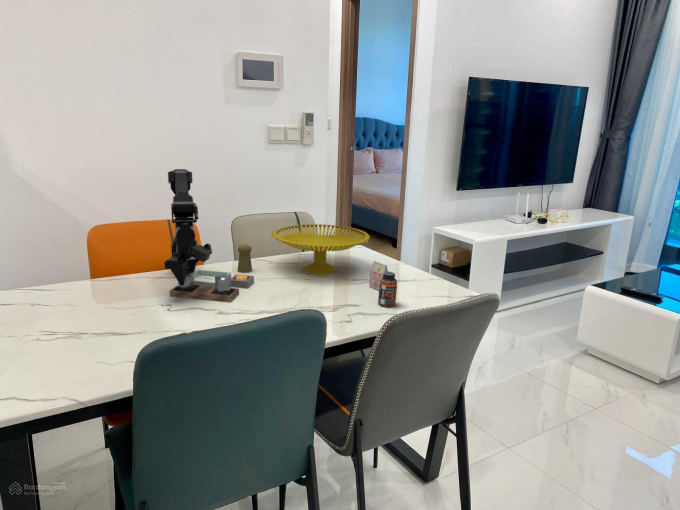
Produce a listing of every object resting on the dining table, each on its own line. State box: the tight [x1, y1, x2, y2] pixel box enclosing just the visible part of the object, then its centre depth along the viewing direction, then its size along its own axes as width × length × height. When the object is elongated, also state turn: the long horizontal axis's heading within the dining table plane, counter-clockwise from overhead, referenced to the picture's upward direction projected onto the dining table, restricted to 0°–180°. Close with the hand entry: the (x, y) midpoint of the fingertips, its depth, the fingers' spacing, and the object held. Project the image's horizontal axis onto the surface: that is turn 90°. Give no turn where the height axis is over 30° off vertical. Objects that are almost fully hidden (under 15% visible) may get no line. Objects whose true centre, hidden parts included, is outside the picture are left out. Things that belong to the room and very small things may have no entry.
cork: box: [236, 244, 253, 274], centre depth 203 cm, size 6×6×11 cm
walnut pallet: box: [169, 284, 240, 303], centre depth 173 cm, size 21×8×3 cm, turn 81°
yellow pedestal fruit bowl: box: [270, 223, 371, 275], centre depth 210 cm, size 40×40×15 cm
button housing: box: [231, 273, 255, 289], centre depth 186 cm, size 7×7×4 cm
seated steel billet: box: [214, 275, 232, 296], centre depth 172 cm, size 5×5×7 cm
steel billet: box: [177, 271, 195, 292], centre depth 173 cm, size 5×5×7 cm
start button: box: [236, 274, 247, 281], centre depth 185 cm, size 4×4×3 cm
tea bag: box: [368, 260, 389, 292], centre depth 189 cm, size 4×7×10 cm, turn 36°
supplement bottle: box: [377, 271, 398, 308], centre depth 173 cm, size 6×6×11 cm
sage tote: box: [194, 269, 232, 286], centre depth 187 cm, size 13×13×3 cm
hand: (186, 282), depth 173 cm, fingers open, 6 cm apart
